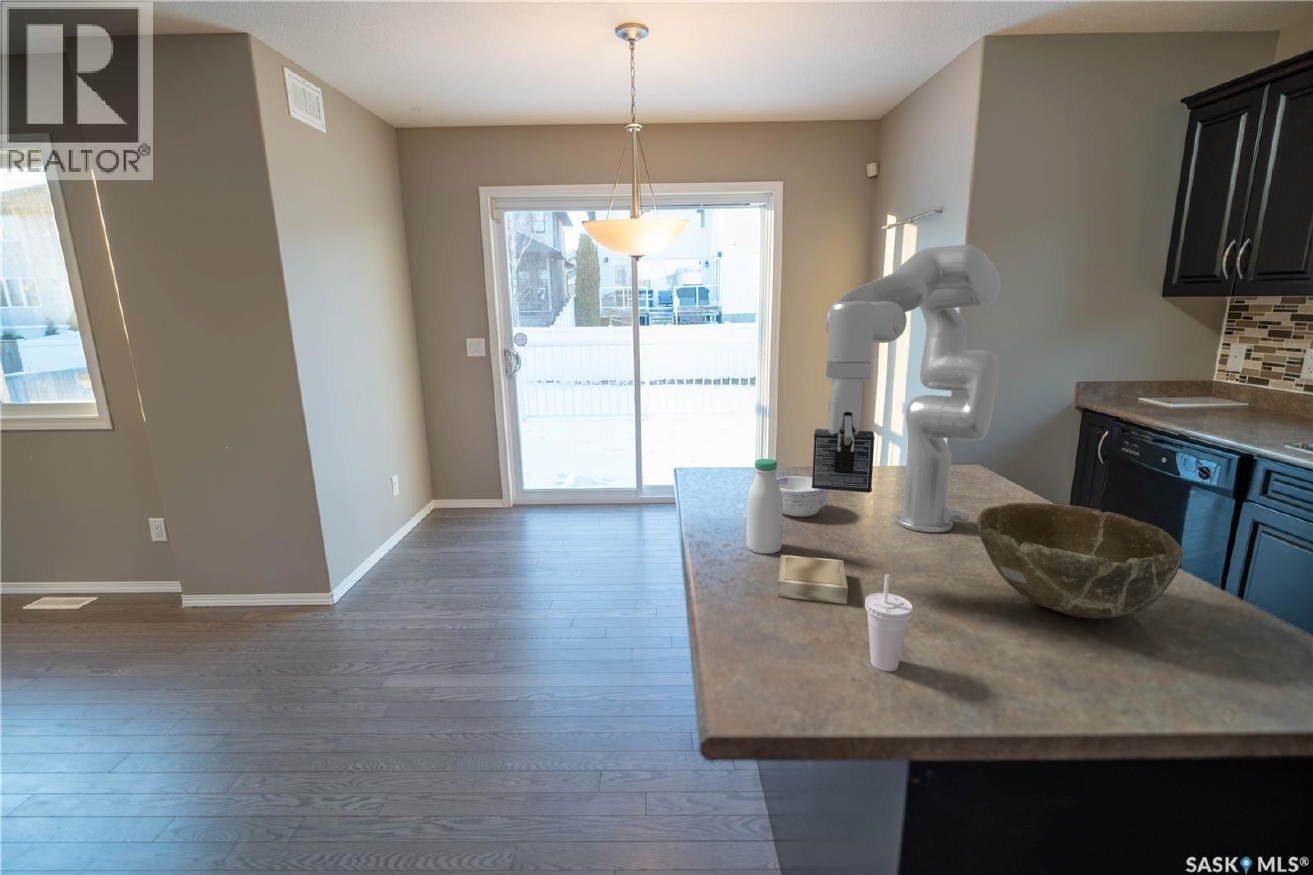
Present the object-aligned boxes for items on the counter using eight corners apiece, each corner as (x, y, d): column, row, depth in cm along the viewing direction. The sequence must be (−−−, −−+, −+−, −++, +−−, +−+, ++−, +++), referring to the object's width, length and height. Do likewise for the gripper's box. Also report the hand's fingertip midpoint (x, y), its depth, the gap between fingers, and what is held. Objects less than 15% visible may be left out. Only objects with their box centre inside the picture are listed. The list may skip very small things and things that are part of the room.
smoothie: (853, 652, 84) (859, 566, 81) (894, 649, 84) (901, 564, 82) (873, 678, 78) (880, 586, 75) (917, 675, 78) (925, 584, 75)
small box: (870, 484, 105) (874, 430, 103) (871, 493, 99) (876, 436, 97) (812, 479, 108) (815, 427, 106) (810, 488, 102) (813, 433, 100)
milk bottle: (781, 556, 118) (784, 465, 114) (745, 553, 120) (747, 464, 116) (781, 542, 126) (783, 457, 122) (746, 540, 127) (748, 455, 123)
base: (842, 574, 109) (843, 559, 109) (846, 603, 98) (847, 587, 97) (780, 568, 112) (780, 554, 112) (777, 596, 101) (778, 580, 100)
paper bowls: (773, 500, 155) (773, 472, 154) (829, 505, 150) (830, 477, 148) (763, 517, 142) (763, 488, 140) (824, 524, 136) (826, 493, 134)
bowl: (997, 639, 87) (1008, 549, 84) (955, 566, 112) (962, 496, 109) (1213, 664, 79) (1234, 568, 76) (1116, 581, 105) (1128, 506, 102)
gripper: (823, 368, 109) (819, 456, 112) (829, 375, 92) (823, 478, 96) (864, 368, 107) (858, 458, 110) (876, 376, 90) (869, 481, 94)
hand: (841, 467), depth 103 cm, fingers closed on small box, 6 cm apart
